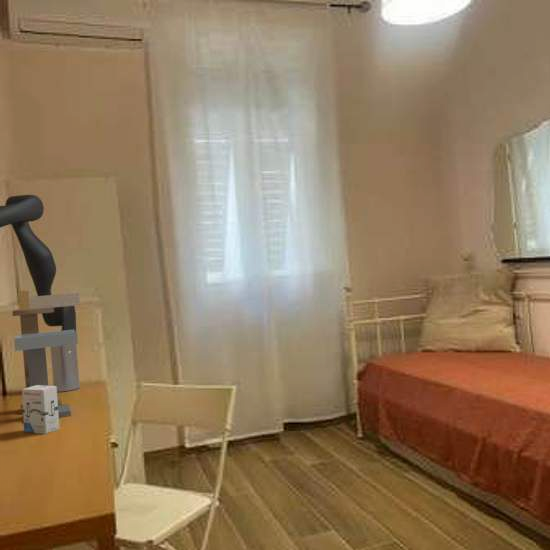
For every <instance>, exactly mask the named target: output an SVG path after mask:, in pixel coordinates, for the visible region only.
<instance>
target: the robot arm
mask: <svg viewBox="0 0 550 550" xmlns="http://www.w3.org/2000/svg"><path fill="white" fill-rule="evenodd" d="M44 207H45V206H44V204H43V201H42V199H41V198H40V197H39V196H37V195H35V194H20V195H12V196H9V197H8V198H7V199H6V201H5V205H0V228H3V227H6V226H9V225H10V226H12V228H13V229H12V230H13V231H14V233H15V236H16V237H17V240H18V242H19V245H20V247H21V250H22V253H23V256H24V259H25V263H26V266H27V269H28V272H29V275H30V277H31V280H32V283H33V285H34V289H35V292H36V295H37V296H46V295H52V286H53V283H54V280H55V278H56V273H57V266H56V261H55V259H54V256H53V253H52V251H51V250H50V248H49V247H48V246H47V245H46V244H45V243H44V242H43V241H42V240H41V239H40V238H39V237H38V236H37V235H36V234H35V233H34V231H33V230H32V228H31V226H30V222H35V221H38V220H40V219H41V218H42V217H43V214H44V211H45V209H44ZM41 315H42V318H43V321H44V323H45V325H47V326H48V327H61V330H60V331H64V330H75V332H77V313H76V307H75V306H64V307H54V312H52V313H41ZM49 348H50V359H51V360H50V361H51V371H52V372H51V374H52V384H53V385H52V386H56V387H57V393H58V392H60V393H61V392H68V391H74V390H77V389H80V374H79V364H78V363H79V362H78V352H77V351H78V350H77V344H72V345H63V346H55V347H49Z"/></svg>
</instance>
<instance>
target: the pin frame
mask: <svg viewBox="0 0 550 550" xmlns="http://www.w3.org/2000/svg"><path fill="white" fill-rule="evenodd" d="M13 340H14V342H13V343H14V351H16V352H17V351H19V352H20V351H23V350H27V356H28V368H29V380H30V387H32V386H35V385H45V386H49V379H48V378H49V377H48V365H47V354H46V353H47V352H46V348H50V347H55V346H63V345H72V344H76V345H78V344H79V342H78V331H76V332H75V330H64V331H61V330H57V331H45V332H39V333H36V334H26V335H22V334H19V335H17V334H16V335H15V336H14V339H13ZM71 411H72V410H71V408H70V404H69V403H67V404H62V405H58V416H59V419H61V418H65V417H71V416H72V412H71Z"/></svg>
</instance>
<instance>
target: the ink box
mask: <svg viewBox="0 0 550 550" xmlns="http://www.w3.org/2000/svg"><path fill="white" fill-rule="evenodd" d="M21 396H22V398H21V399H22V405H23V414H22V415H23V432H24V433H31V434H32V433H33V434H42V435H43V434H44V435H47V434H49V432H50V433H53V432H55V430H56V431H58V429H59V430H60V420H59V419H60V418H59V416H58V401H57V399H58V392H57V387H56V386H53V385H48V386H45V385H35V386H32V387H28V388H26V387H25V388H22V389H21ZM52 431H53V432H52Z"/></svg>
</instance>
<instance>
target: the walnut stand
mask: <svg viewBox="0 0 550 550" xmlns="http://www.w3.org/2000/svg"><path fill="white" fill-rule="evenodd" d="M52 312H54V307H53V308H42V309H30V310H20V309H18V310H17V309H16V310H12V317H18V316H19V319H20V320H19V321H20V332H21V335H26V334H36V333H40V331H39V319H38V318H39V317H38V315H39V314H41V315H42V313H52ZM22 357H23V367H24V368H23V369H24V379H25V388H28V387H30V380H29V368H28V356H27V350H22ZM57 401H58V405H63V403H62V398H57ZM20 415H23V404H21V405H20Z"/></svg>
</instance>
